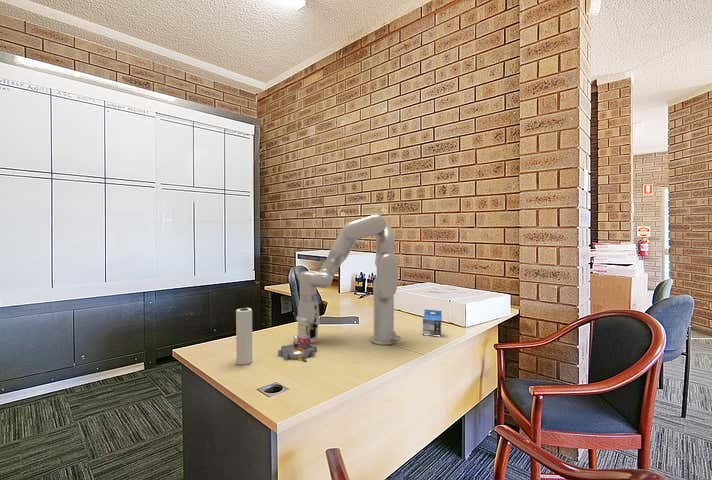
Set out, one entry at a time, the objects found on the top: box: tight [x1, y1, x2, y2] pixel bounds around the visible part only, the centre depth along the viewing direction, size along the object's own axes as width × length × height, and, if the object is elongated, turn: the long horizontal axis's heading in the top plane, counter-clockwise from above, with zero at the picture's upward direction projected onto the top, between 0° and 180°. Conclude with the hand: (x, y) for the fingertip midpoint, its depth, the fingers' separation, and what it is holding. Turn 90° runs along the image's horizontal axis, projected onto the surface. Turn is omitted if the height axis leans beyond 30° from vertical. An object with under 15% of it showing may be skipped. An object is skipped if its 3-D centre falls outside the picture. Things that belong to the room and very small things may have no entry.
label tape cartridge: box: [422, 309, 443, 336], centre depth 179 cm, size 9×4×12 cm, turn 68°
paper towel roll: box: [235, 307, 253, 366], centre depth 142 cm, size 7×6×21 cm
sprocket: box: [277, 335, 318, 362], centre depth 152 cm, size 16×16×6 cm
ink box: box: [297, 317, 319, 344], centre depth 168 cm, size 9×5×12 cm, turn 136°
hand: (308, 335), depth 168 cm, fingers closed on ink box, 5 cm apart
